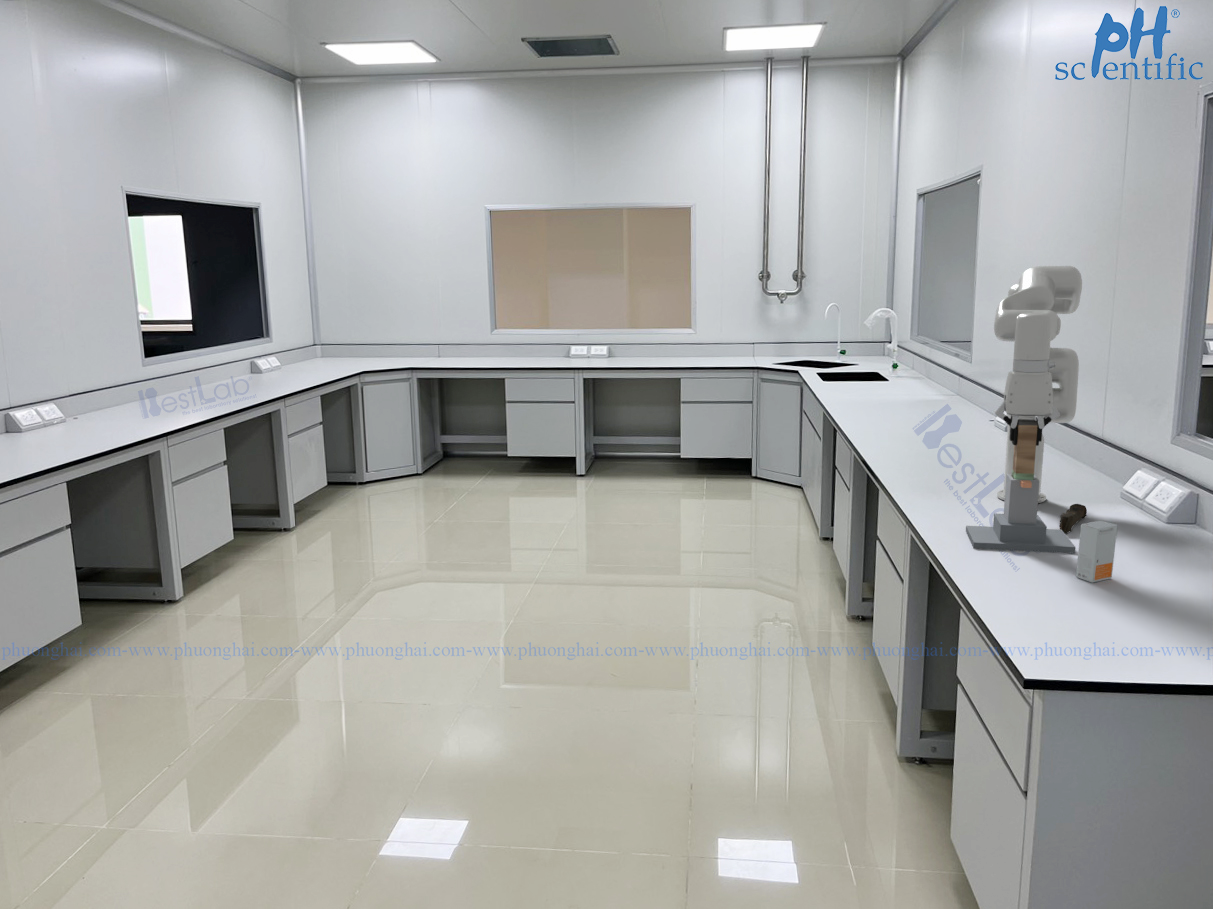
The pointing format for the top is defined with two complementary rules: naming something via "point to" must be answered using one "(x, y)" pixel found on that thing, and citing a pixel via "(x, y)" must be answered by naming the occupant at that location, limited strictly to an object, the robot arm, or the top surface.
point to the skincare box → (1096, 551)
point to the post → (1025, 450)
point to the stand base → (1020, 524)
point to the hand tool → (1072, 517)
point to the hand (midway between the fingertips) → (1025, 443)
